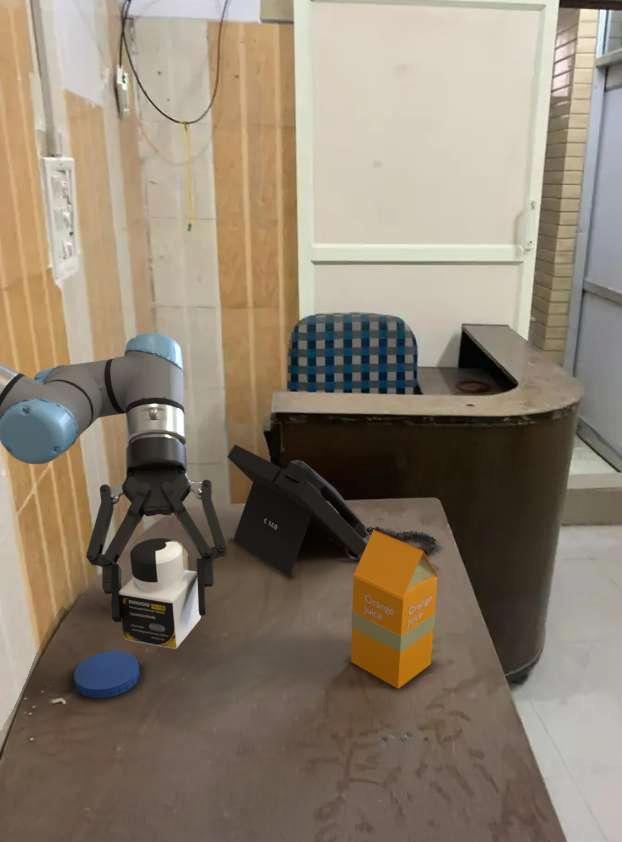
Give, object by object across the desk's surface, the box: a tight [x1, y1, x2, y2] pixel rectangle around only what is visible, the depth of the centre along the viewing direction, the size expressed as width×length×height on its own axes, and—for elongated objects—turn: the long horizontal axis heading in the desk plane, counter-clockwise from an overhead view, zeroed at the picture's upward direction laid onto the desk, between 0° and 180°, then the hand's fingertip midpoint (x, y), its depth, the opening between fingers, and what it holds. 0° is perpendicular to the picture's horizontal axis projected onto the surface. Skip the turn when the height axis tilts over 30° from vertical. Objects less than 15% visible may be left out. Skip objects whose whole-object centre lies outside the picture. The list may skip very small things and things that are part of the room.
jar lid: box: [73, 650, 141, 699], centre depth 103 cm, size 8×8×2 cm
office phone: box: [227, 444, 437, 578], centre depth 137 cm, size 29×28×20 cm
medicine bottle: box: [119, 537, 202, 650], centre depth 93 cm, size 7×7×12 cm
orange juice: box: [350, 529, 439, 689], centre depth 105 cm, size 8×9×20 cm
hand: (159, 616), depth 91 cm, fingers closed on medicine bottle, 9 cm apart
